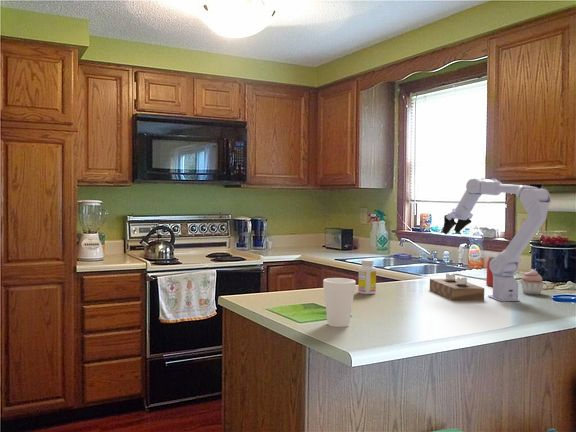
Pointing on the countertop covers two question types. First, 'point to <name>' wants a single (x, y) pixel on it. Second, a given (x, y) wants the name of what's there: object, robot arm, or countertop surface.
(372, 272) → the supplement bottle
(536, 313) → the countertop surface
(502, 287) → the robot arm
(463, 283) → the peg near
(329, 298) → the foam cup
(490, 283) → the beer can
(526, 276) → the cupcake
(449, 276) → the peg far
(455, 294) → the walnut block
